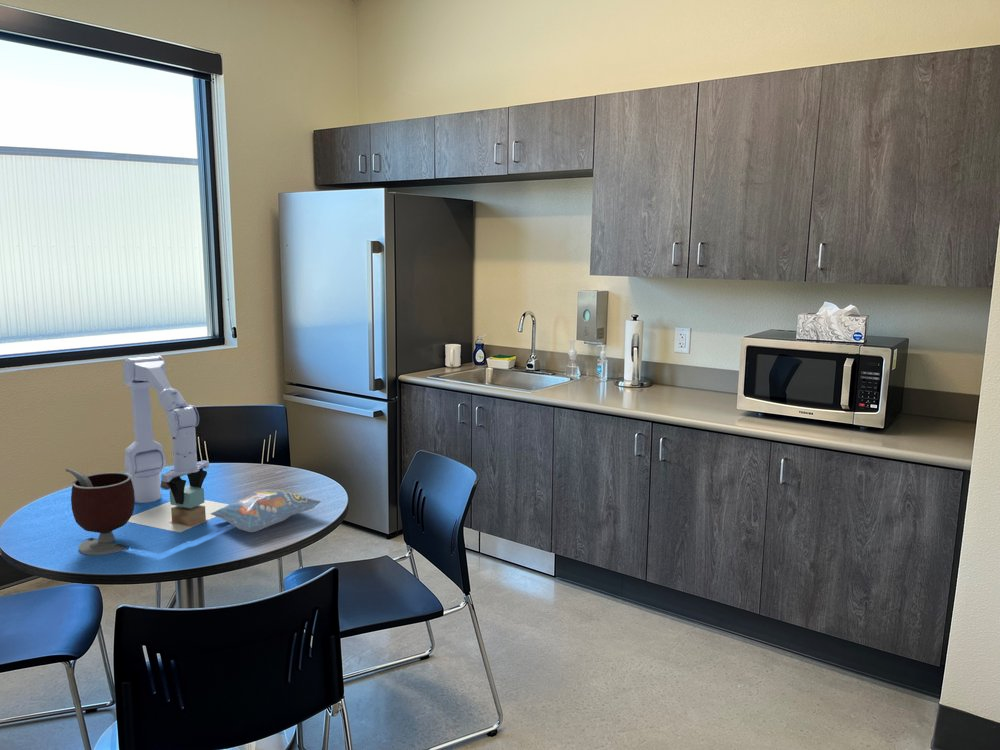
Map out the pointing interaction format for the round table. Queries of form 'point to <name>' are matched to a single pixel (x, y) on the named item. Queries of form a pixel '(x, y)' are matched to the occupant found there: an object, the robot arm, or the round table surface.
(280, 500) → the packet
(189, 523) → the walnut block
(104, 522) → the mate gourd
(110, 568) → the round table surface
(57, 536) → the round table surface
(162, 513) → the baseplate
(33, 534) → the round table surface
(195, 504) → the teal block
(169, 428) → the robot arm
